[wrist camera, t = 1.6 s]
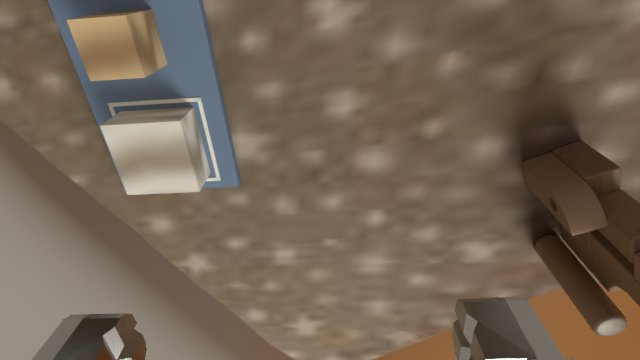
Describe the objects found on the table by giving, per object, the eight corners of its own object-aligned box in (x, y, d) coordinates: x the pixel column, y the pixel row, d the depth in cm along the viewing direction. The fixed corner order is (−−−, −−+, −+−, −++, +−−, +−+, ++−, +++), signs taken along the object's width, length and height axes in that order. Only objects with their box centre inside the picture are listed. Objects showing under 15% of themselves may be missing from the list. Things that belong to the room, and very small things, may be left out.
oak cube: (100, 13, 34) (66, 19, 30) (152, 8, 34) (125, 15, 29) (119, 67, 36) (90, 81, 32) (167, 64, 36) (145, 77, 32)
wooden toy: (518, 159, 41) (719, 370, 20) (581, 139, 40) (874, 342, 18) (535, 255, 48) (697, 487, 27) (589, 240, 47) (807, 473, 25)
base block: (120, 111, 39) (99, 125, 35) (193, 107, 38) (179, 121, 35) (144, 176, 43) (127, 194, 39) (210, 173, 42) (199, 191, 39)
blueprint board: (49, -14, 34) (41, -14, 33) (196, -27, 33) (192, -27, 32) (129, 187, 45) (124, 192, 44) (241, 182, 44) (238, 187, 43)
